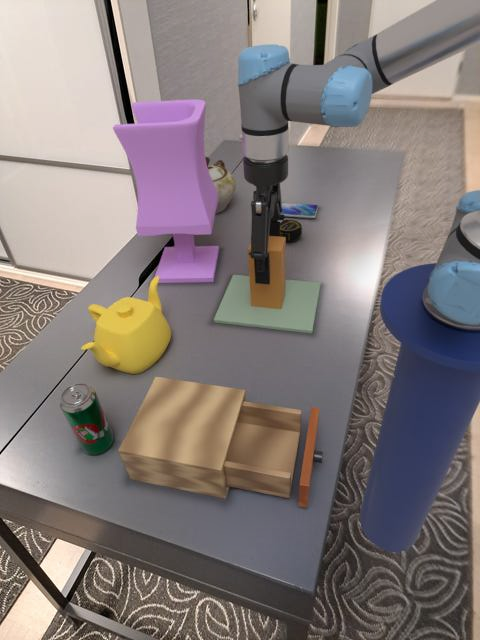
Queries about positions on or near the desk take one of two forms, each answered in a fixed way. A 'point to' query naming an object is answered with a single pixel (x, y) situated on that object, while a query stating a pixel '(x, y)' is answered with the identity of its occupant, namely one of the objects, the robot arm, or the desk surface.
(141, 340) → the teapot
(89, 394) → the soda can
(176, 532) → the desk surface
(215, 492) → the cabinet
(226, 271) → the desk surface
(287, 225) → the tape measure
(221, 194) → the sugar bowl
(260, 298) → the orange rectangular block
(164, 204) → the vase
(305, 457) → the drawer
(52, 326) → the desk surface
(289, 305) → the mat
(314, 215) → the smartphone
